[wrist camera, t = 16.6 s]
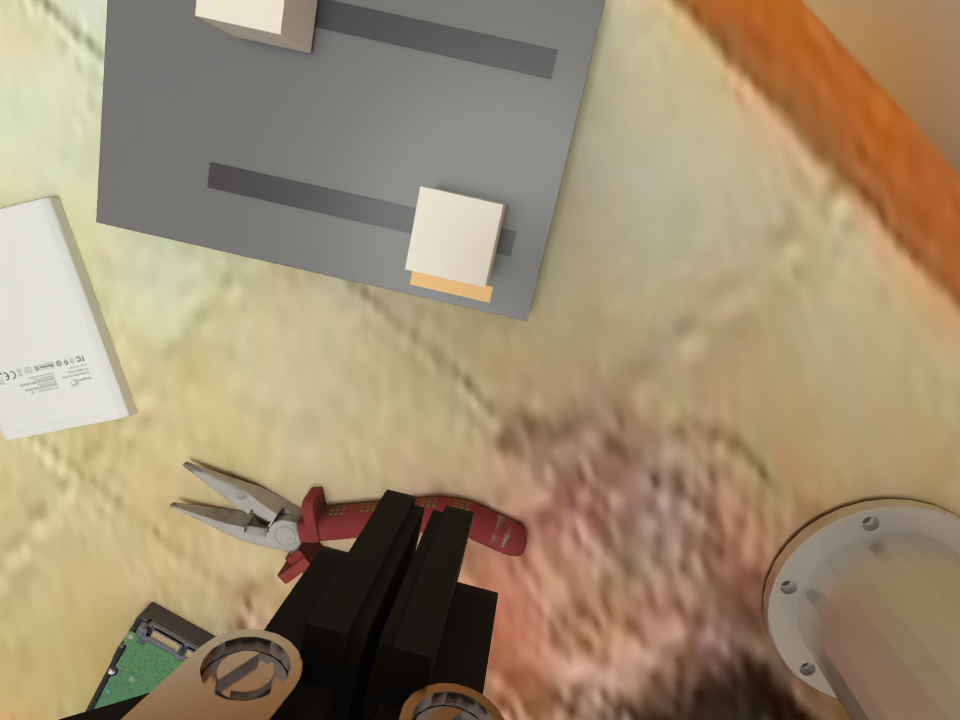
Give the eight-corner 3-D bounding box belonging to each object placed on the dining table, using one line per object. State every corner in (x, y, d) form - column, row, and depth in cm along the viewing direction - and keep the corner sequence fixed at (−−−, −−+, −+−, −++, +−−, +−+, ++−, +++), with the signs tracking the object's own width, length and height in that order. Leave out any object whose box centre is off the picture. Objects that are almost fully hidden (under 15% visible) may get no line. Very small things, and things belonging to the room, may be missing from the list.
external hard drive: (68, 196, 35) (143, 408, 37) (-62, 228, 36) (21, 432, 38) (45, 196, 33) (126, 418, 36) (-89, 230, 34) (-1, 443, 37)
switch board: (602, 2, 29) (608, -16, 27) (527, 312, 33) (527, 321, 31) (147, -97, 30) (112, -124, 27) (127, 220, 34) (94, 222, 31)
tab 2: (506, 203, 29) (503, 204, 26) (490, 277, 30) (484, 287, 27) (433, 187, 29) (420, 186, 26) (419, 260, 30) (405, 269, 27)
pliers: (212, 391, 37) (188, 406, 34) (534, 518, 37) (534, 542, 35) (166, 552, 40) (141, 576, 37) (464, 667, 40) (459, 699, 38)
